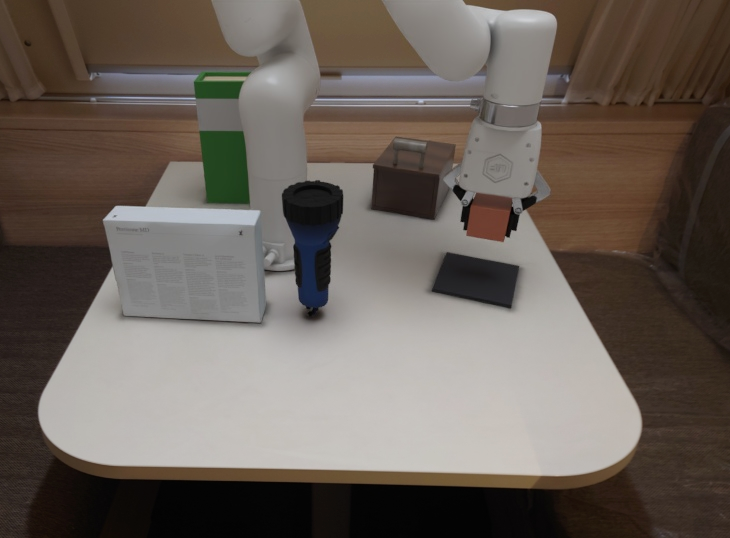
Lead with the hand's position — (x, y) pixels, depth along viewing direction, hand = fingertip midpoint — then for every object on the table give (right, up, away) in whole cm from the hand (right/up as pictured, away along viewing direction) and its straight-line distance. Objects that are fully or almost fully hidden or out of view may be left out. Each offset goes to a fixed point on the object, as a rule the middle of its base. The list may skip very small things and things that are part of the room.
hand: (487, 229), depth 88 cm
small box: (0, 0, 0) cm, 0 cm away
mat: (0, -8, +5) cm, 9 cm away
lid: (-6, +17, +25) cm, 31 cm away
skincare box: (-44, -12, -1) cm, 46 cm away
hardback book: (-39, +10, +32) cm, 51 cm away
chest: (-6, +9, +30) cm, 33 cm away
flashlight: (-27, -13, -2) cm, 30 cm away
